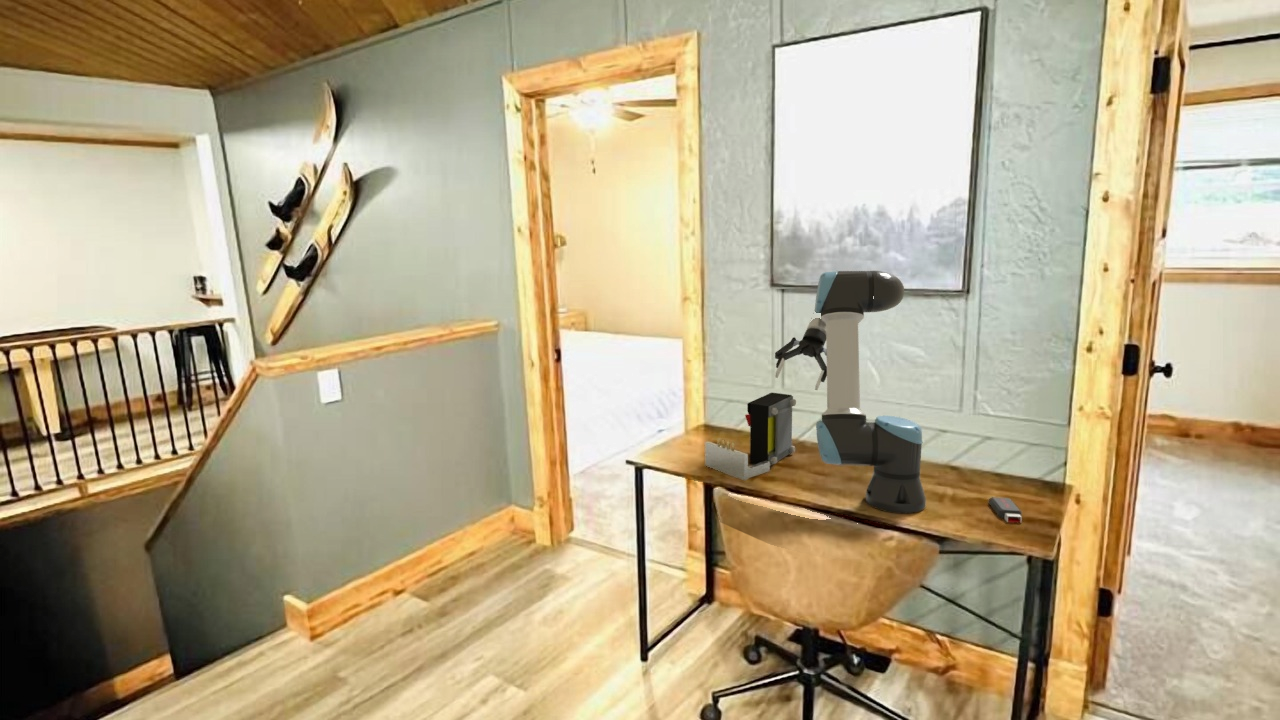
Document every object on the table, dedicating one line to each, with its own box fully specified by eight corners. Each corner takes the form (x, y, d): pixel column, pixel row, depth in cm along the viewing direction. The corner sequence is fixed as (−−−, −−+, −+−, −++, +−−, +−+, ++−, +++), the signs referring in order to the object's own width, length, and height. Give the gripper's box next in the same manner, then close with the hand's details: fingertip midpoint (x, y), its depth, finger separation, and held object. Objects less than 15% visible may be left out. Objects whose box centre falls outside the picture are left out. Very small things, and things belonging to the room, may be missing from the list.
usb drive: (1009, 505, 174) (1010, 496, 174) (1025, 524, 163) (1026, 514, 162) (988, 504, 175) (989, 495, 175) (1002, 523, 164) (1003, 513, 163)
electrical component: (773, 468, 206) (774, 407, 202) (744, 462, 212) (745, 402, 209) (796, 453, 220) (797, 395, 216) (769, 448, 226) (769, 392, 222)
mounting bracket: (770, 471, 203) (771, 439, 201) (744, 480, 196) (744, 447, 194) (731, 458, 217) (731, 427, 215) (705, 466, 209) (705, 435, 207)
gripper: (851, 351, 224) (832, 399, 214) (781, 331, 233) (760, 376, 223) (853, 337, 218) (834, 386, 208) (782, 317, 227) (760, 363, 217)
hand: (796, 381), depth 216 cm, fingers open, 13 cm apart
